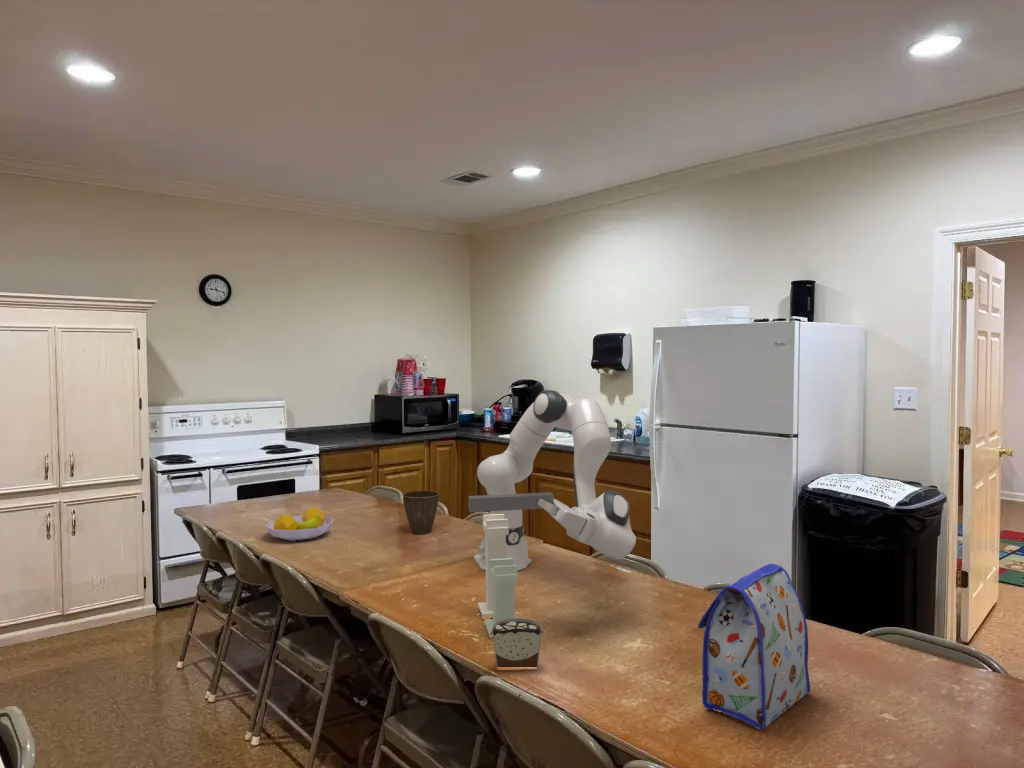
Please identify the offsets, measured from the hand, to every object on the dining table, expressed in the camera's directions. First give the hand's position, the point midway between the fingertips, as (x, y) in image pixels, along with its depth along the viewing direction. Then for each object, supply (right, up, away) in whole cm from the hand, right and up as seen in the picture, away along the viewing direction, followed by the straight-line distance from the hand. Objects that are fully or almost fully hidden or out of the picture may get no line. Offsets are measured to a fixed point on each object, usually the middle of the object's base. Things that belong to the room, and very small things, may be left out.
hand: (536, 499), depth 179 cm
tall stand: (-11, -34, +12) cm, 38 cm away
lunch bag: (+44, -36, -38) cm, 68 cm away
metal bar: (-7, -2, -1) cm, 7 cm away
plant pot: (-44, -31, +103) cm, 116 cm away
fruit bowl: (-92, -32, +97) cm, 137 cm away
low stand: (-9, -34, 0) cm, 35 cm away
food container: (-5, -35, -20) cm, 41 cm away
